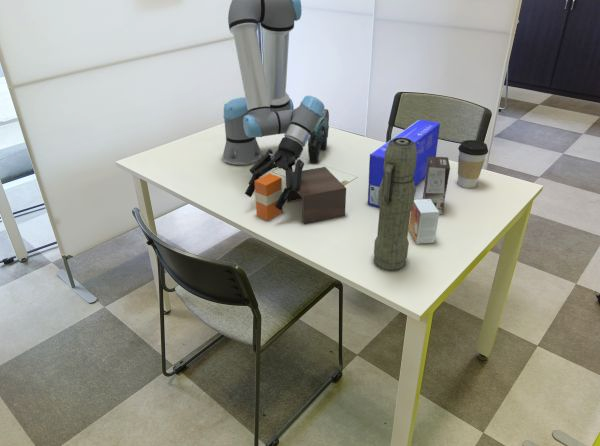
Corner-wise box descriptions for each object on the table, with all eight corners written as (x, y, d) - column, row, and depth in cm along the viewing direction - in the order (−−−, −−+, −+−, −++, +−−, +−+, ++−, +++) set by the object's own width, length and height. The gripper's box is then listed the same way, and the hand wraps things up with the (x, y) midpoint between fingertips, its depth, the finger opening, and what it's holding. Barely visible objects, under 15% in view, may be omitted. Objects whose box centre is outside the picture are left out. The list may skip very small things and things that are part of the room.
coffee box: (442, 215, 154) (450, 168, 145) (422, 213, 155) (428, 167, 146) (441, 201, 161) (448, 156, 153) (421, 199, 162) (428, 155, 154)
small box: (408, 229, 146) (412, 199, 141) (426, 228, 146) (430, 198, 141) (415, 244, 139) (420, 212, 134) (434, 243, 140) (439, 211, 134)
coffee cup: (486, 183, 172) (494, 144, 164) (473, 193, 166) (481, 152, 158) (460, 175, 178) (467, 137, 170) (447, 184, 172) (453, 145, 164)
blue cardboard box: (414, 164, 187) (419, 118, 177) (434, 169, 183) (441, 122, 173) (365, 204, 160) (369, 152, 150) (388, 211, 156) (393, 158, 146)
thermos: (413, 256, 134) (429, 137, 116) (395, 278, 126) (409, 153, 108) (384, 246, 138) (396, 130, 120) (365, 266, 130) (374, 144, 112)
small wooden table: (286, 200, 163) (285, 173, 158) (324, 193, 167) (324, 166, 162) (303, 224, 149) (303, 195, 144) (345, 216, 154) (346, 188, 148)
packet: (256, 216, 154) (254, 180, 148) (271, 207, 159) (269, 173, 152) (268, 221, 151) (266, 185, 145) (283, 212, 156) (281, 177, 150)
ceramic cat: (317, 145, 205) (317, 98, 195) (332, 146, 204) (333, 99, 193) (305, 163, 189) (304, 113, 178) (321, 165, 187) (321, 115, 177)
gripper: (329, 157, 149) (297, 218, 147) (271, 138, 163) (241, 194, 161) (319, 146, 143) (286, 210, 141) (259, 127, 157) (228, 185, 155)
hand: (262, 201), depth 151 cm, fingers open, 12 cm apart
